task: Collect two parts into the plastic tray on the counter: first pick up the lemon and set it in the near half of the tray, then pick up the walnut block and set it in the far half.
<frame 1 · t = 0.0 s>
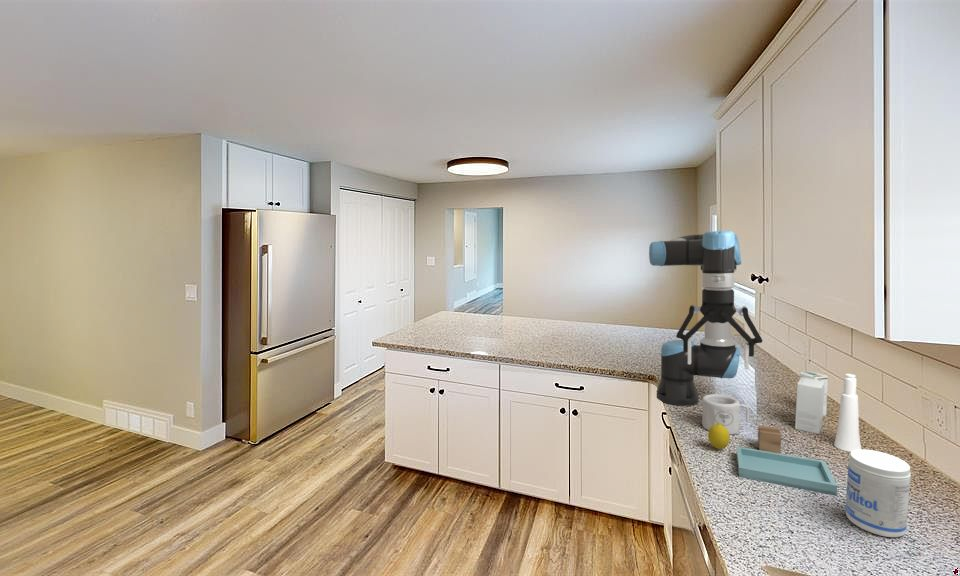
hand: (717, 365, 115), 28 cm above the worktop, tool pointing down, fingers open, 13 cm apart
skincare box: (809, 428, 136), on the worktop
cosmetic bottle: (847, 448, 123), on the worktop
tray: (781, 473, 111), on the worktop
mug: (725, 429, 139), on the worktop
walnut block: (769, 449, 124), on the worktop
lemon: (718, 450, 125), on the worktop
supplement tub: (875, 525, 90), on the worktop
syrup box: (812, 414, 147), on the worktop
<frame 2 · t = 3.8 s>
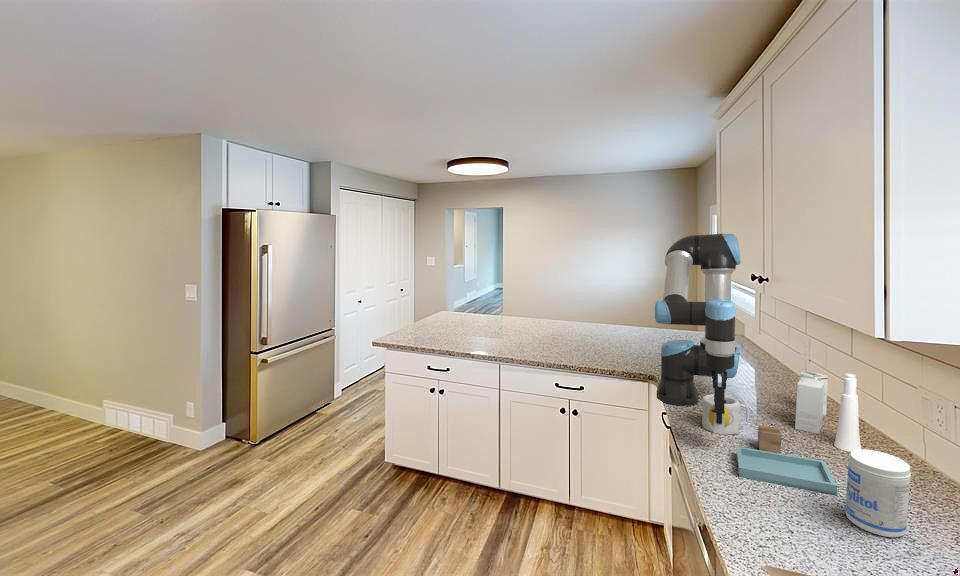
hand: (718, 428, 125), 6 cm above the worktop, tool pointing down, fingers closed on lemon, 5 cm apart
lemon: (718, 430, 125), point 6 cm above the worktop, touching gripper
everything else where it was.
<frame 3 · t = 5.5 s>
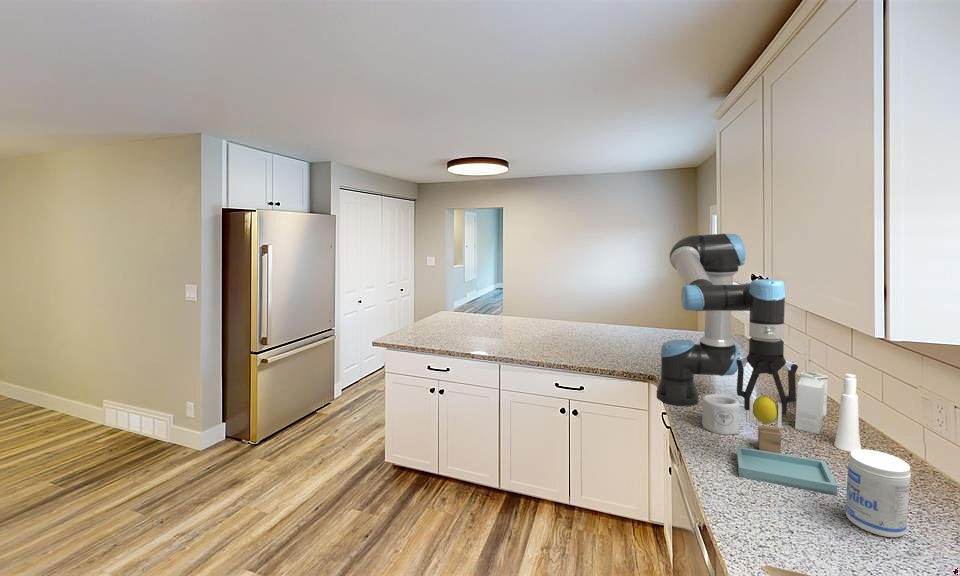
hand: (764, 423, 112), 13 cm above the worktop, tool pointing down, fingers closed on lemon, 5 cm apart
lemon: (764, 425, 112), point 12 cm above the worktop, touching gripper
everything else where it was.
when the fingers open (2 cm above the worktop, at t = 7.2 s): lemon drops 1 cm, resting on tray.
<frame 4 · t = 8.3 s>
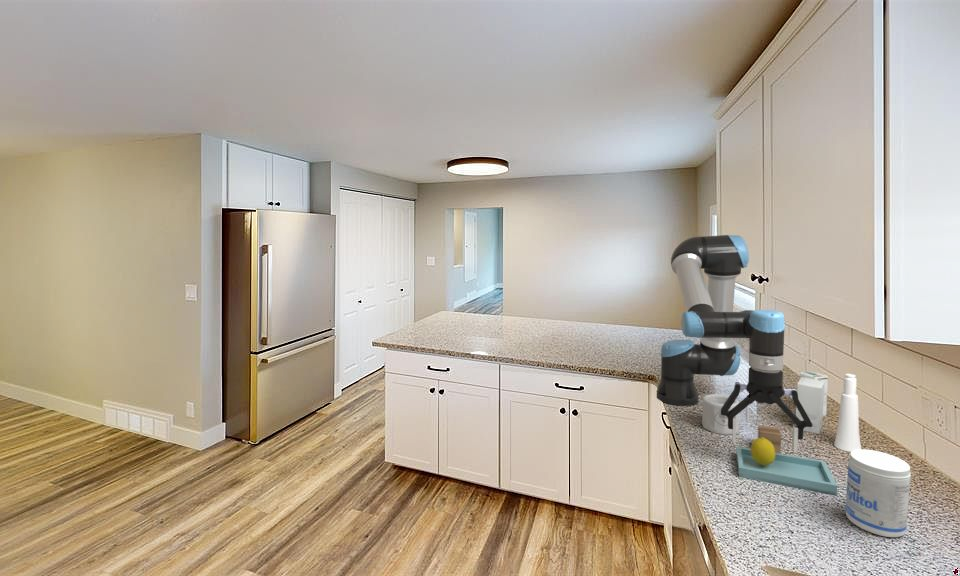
hand: (763, 445, 113), 7 cm above the worktop, tool pointing down, fingers open, 13 cm apart
lemon: (762, 466, 113), point 1 cm above the worktop, touching tray
everything else where it was.
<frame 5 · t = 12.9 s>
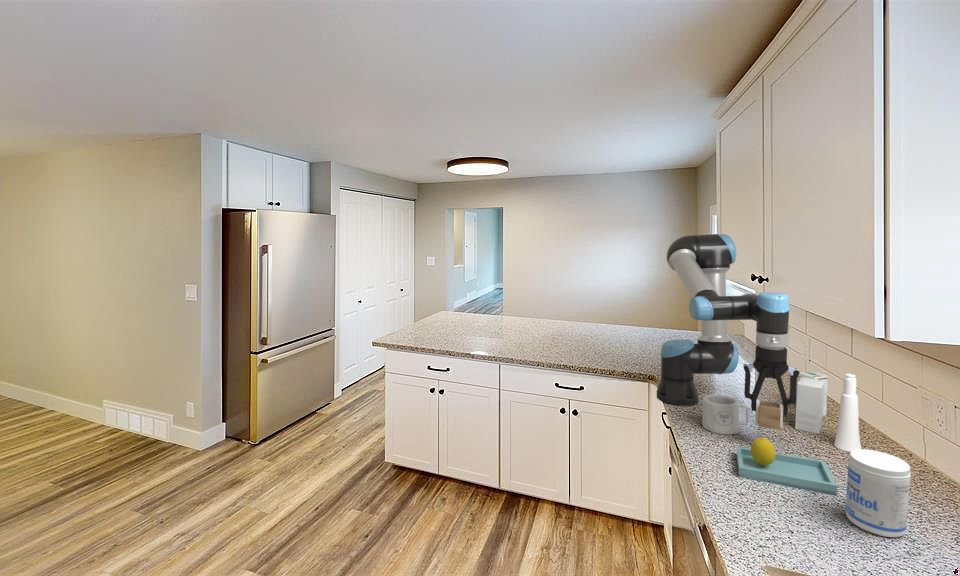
hand: (768, 422, 123), 8 cm above the worktop, tool pointing down, fingers closed on walnut block, 5 cm apart
walnut block: (768, 424, 123), point 7 cm above the worktop, touching gripper
everything else where it was.
when the fingers open (2 cm above the worktop, at t = 16.4 s): walnut block stays where it is, resting on tray.
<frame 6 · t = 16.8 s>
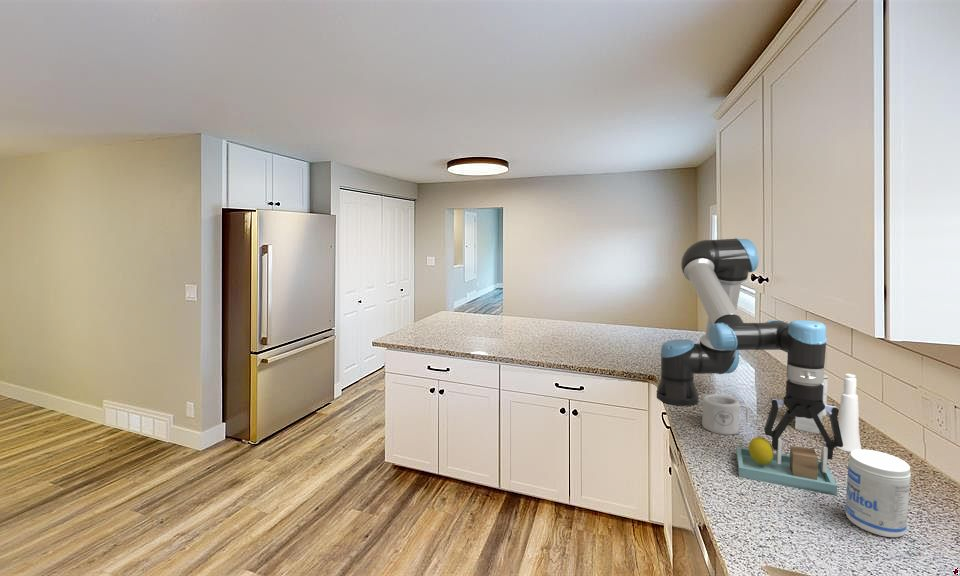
hand: (800, 465, 109), 3 cm above the worktop, tool pointing down, fingers open, 9 cm apart
walnut block: (803, 473, 109), point 1 cm above the worktop, touching tray
lemon: (762, 466, 113), point 1 cm above the worktop, touching gripper, tray
everything else where it was.
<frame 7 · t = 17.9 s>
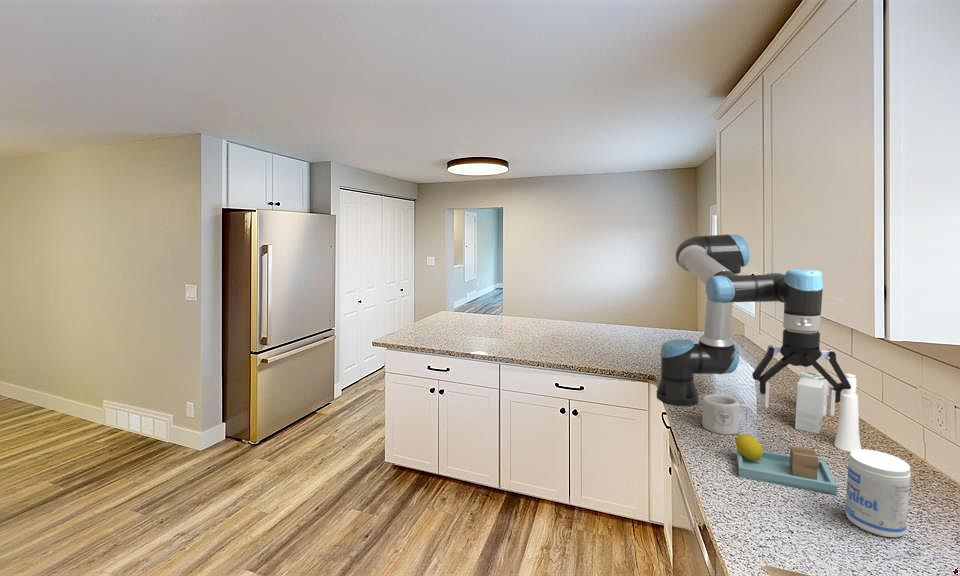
hand: (797, 409, 109), 17 cm above the worktop, tool pointing down, fingers open, 13 cm apart
lemon: (762, 461, 114), point 2 cm above the worktop, touching tray
everything else where it was.
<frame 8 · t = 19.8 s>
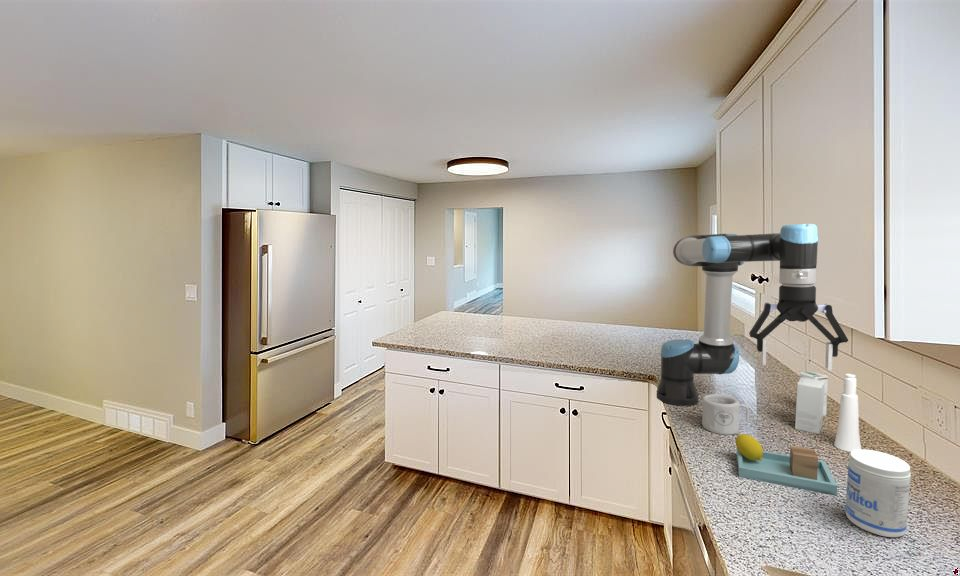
hand: (795, 366, 109), 29 cm above the worktop, tool pointing down, fingers open, 13 cm apart
nothing on the worktop moved.
at the end: lemon inside the target area on the tray (4.5 cm from its centre), point 1.7 cm above the tray's base; walnut block inside the target area on the tray (4.5 cm from its centre), point 0.8 cm above the tray's base; the gripper is holding nothing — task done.
